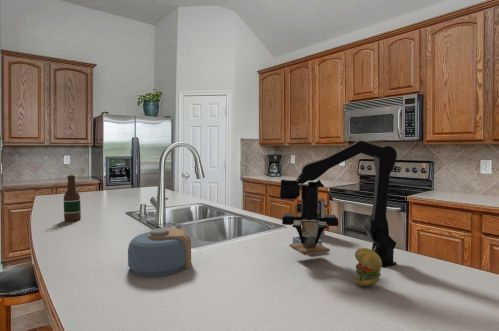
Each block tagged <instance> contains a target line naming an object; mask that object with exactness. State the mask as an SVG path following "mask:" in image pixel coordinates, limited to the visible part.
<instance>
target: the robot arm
mask: <svg viewBox="0 0 499 331" xmlns="http://www.w3.org/2000/svg"><path fill="white" fill-rule="evenodd" d="M360 154H363V155H365V156H369V157H371V158H372V159H373V166H374V170H375V180H374V187H373V188H374V191H373V198H372V199H373V200H372V201H373V202H372V211H371V214H370V216H369V217H368V216H365V225H364V228H363V229H365V232H366V234H367V236H368V237H370V238H371V240H372V246H371V250H373V251H374V248H375V247H376V248H375V251H374V252H376V253H377V254H378V255H379V257H380V258H381V260H382V266H381V268H385V267H390V266H394V265H397V262H396V261H394V255H395V254H394V250H395V248H396V245H397V242H396V241H395V240H394V239H393V238H392V237H391V236H390V231H389V228H390V227H389V222H388V219H387V207H388V199H389V190H390V188H389V187H390V180H391V179H390V178H391V173H392V171H393V168H394V166H395V165H396V161H397V158H398V152H397V150H396V149H395V148H394V147H392V146H391V145H381V146H380V145H376V144H372V143H369V142H365V141H364V140H357V141H355V142H354V143H352V144H350V145H348V146H346V147H344V148H342V149H340V150H338V151H336V152H334V153H332V154H330V155H328V156H326V157H324V158H322V159H317V160H314V161H311V162H310V161H309V162H307V163H305V164H304V165H302V168H301V169H300V170H301V173H300V174H299V175H298V176H297V177H296V179H295V180H294V179H291V180H290V179H288V180H287V179H280V188H279V190H280V191H279V197H280V198H279V200H297V198H299V197H301V198H300V200H301V201H300V202H301V203H296V213H297V214H299V213H300V216H294V213H283V214H282V216H281V218H282V219H281V221H282V223H281V225H283V226H284V225H285V226H292V227H293V228H295V229H296V231H297V233H298V237H299V236H300V240H301V243H302V244H303V235H302V222H315V223H317V231H316V245H317V243H318V240H319V239H321V238H320V235H321V234H322V232H323V230H324V229H328V227H339V219H338V217H337V216H336V215H335V214H325V217H318V199H319V188H324V187H325V185H324V184H323V182H322V181H321V180H320V179H319V178H320V177H321V176H323V175H324V174H326V172H327V171H328V170H330V169H331V168H333V167H335V166H338V165H340V164H342V163H344V162H346V161H347V160H350V159H352V158H354V157H356V156H358V155H360ZM315 180H316V181H315ZM305 183H306V184H305ZM300 192H301V193H300ZM300 194H301V195H300ZM303 219H308V220H303Z"/></svg>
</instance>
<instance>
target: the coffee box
mask: <svg viewBox="0 0 499 331" xmlns="http://www.w3.org/2000/svg"><path fill="white" fill-rule="evenodd" d="M325 205H326V203H325V199H322V198H321V199H320V198H318V217H325V215H326V213H325ZM303 220H308V219H303ZM301 227H302V235H303V236H306V235H312V236H314V237H316V231H317V223H315V222H301ZM325 229H326V228H325ZM325 229H324V230H323V232H322V234H321V235H320V238H319V239H321V238H323V237H324V236H325Z"/></svg>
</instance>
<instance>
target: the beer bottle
mask: <svg viewBox="0 0 499 331" xmlns="http://www.w3.org/2000/svg"><path fill="white" fill-rule="evenodd" d="M66 178H67V187H66V188H67V189H66V191H65V193H64V195H63V219H64V221H65V222H69V223H70V222H72V221H73V222H78V221H81V219H82V218H81V217H82V215H81V214H82V213H81V209H82V208H81V195H80V194H79V192H78V191H77V186H76V176H75V175H73V174H71V175H67V177H66ZM73 222H72V223H73Z"/></svg>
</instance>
